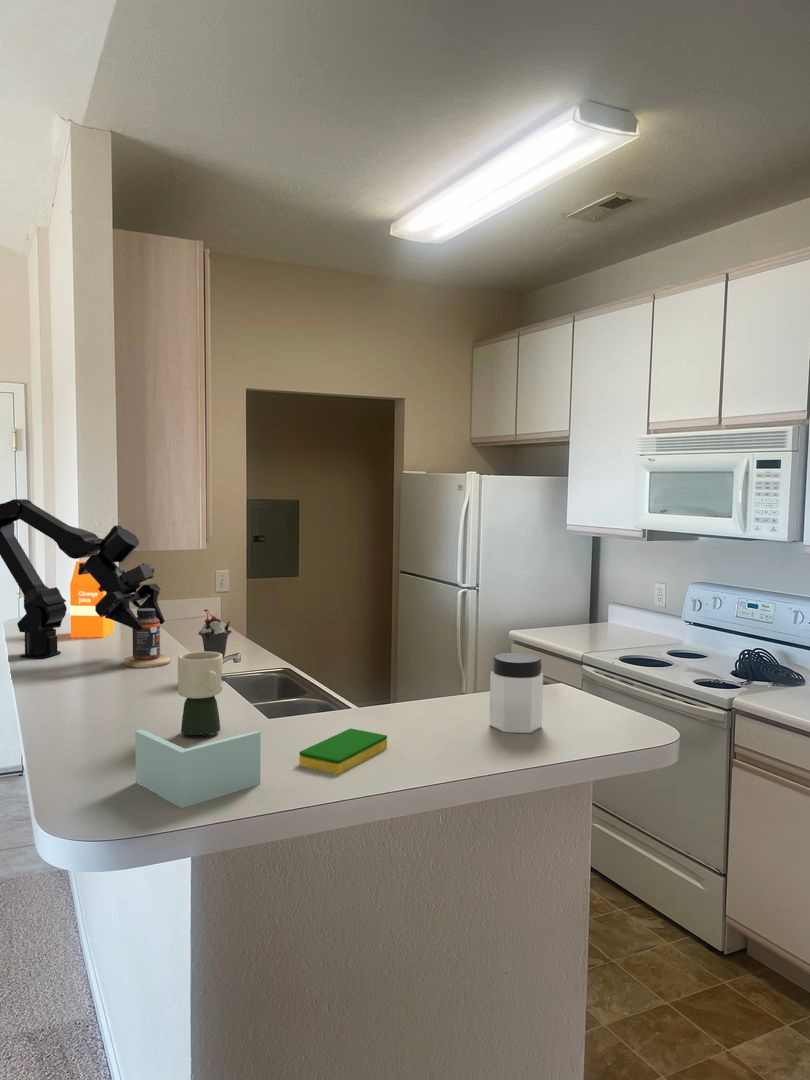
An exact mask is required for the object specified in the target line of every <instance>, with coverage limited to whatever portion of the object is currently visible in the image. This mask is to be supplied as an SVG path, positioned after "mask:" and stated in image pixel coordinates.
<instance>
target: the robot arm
mask: <svg viewBox="0 0 810 1080" xmlns="http://www.w3.org/2000/svg"><path fill="white" fill-rule="evenodd" d="M19 520H21V521H22V522H23V523H26V524H27V525H29V526H30V527H32V528H34V529H35V530H37V531H39V532H40V533H42V534H44V535H45V536H47V537H49V538H50V539H51V540H53V541H54V542H56V544H57V546H58V548H59V550H61V551H62V552H63V553H64V554H65V555H66V556H68V557H69V558H71V559H73V560H78V559H86V558H88V559H86V562H85V563H79V570H78V575H84V574H89V573H90V575H91V576H92V577H93V578H94V579H95V580H96V582H97V583H98V584H99V585H100V587H99V588H98V590H99V591H100V592H104V591H105V592H106V594H105V595H104V597H103V598H102V599H101V600H100V601H99V602H98V603H97V604H96V605H95V611H96V613H97V614H98V615H99V616H100V617H104V616H105V618H106V619H111V620H114V622H117V623H120V624H121V625H123V626H127V627H129V628H131V629H132V630H133V629H135V630H138V631H141V630H142V629H143V627H142V625H141V623H140V622H139V620H138V619H137V615H135V613H134V611H132V609H131V607H130V603H132V605H133V606H134V607H136V608H137V609H142V608H154V609H155V613H156V614H155V616H156V617H157V618H158V619H159V621H160V625H163V624H164V623H165V622H166V620H165V619H164V616H163V613H162V611H161V609H160V606H159V603H158V599H159V598H158V597H159V595H160V592H161V587H160V586H159V585H158V584H157V583H156V582H154V583H153V582H150V583H145V584H141V583H142V582H145V581H147V580H150V579H153V578H155V576H154V574H155V567H153V566H152V565H151V564H149V563H148V562H143V563H142V564H138V566H136V567H134V568H132V569H129V570H126V569H123V570H121V569H120V567H119V566H118V565H117V564H116V563H123V562H125V560H127V558H128V557H129V556H131V554H132V553H133V552H134V551H135V550H136V549H137V547H138V546H139V545H140V541H139V539H138V537H137V536H136V535H135V534H134V533H132V532H130V531H129V530H128V529H125V528H123V526H121V525H114V526H113V527H112V528H111V529H110V531H109V532H108V533H107V534H106V536H105V537H104V538H100V537H99V536H98V535H97V534H95V533H93V532H91V531H88V530H85V529H83V528H79V527H75V526H71V525H68V524H67V523H65V522H63V521H62V520H60V519H59V518H58V517H55V516H54V515H52V514H50V513H49V512H47V511H45V510H44V509H42V508H41V507H39V506H37V505H35V504H34V503H33V502H32V501H31V500H30V499H27V498H26V499H25V498H20V499H14V498H13V499H11V500H9V501H6V502H2V503H0V557H1V559H2V561H3V562H4V565H6V567H7V569H8V571H9V572H10V574H11V576H12V578H13V579H14V581H15V582H16V584H17V586H18V587H19V589H20V591H21V592H22V594H23V608H24V610H25V614H24V616H23V617H21V618H20V620H19V621H18V622H17V624H16V625H17V627H18V630H19V632H20V633H24V653H21V654H20V655H19V656H20V657H21V658H31V659H33V658H34V659H46V658H49V656H50V657H53V656H56V655H59V654H62V652H61V651H62V650H61V651H60V650H58V635H57V629H56V628H61V626H62V622H63V620H64V618H65V616H66V614H67V610H68V609H67V605H66V602H67V600H66V599H65V598H64V597H63V596H62V594H61V592H60V590H59V588H58V587H56V586H55V587H51V588H50V587H48V586H47V585H45V584H44V582H43V580H42V579H41V577H40V576H39V573H37V570H36V569H35V566H34V565H33V564H32V562H31V560H30V559H29V557H28V556H27V554H26V552H25V550H24V549H23V547H22V545H21V544H20V542H19V540H18V538H17V537H16V535H15V522H16V521H19ZM137 589H138V590H137Z"/></svg>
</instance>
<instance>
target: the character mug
mask: <svg viewBox="0 0 810 1080" xmlns="http://www.w3.org/2000/svg"><path fill="white" fill-rule="evenodd" d="M223 659H224V658H223V655H222V654H221V653H217V652H204V651H191V652H185V653H182V654H179V655H178V657H177V692H178V695H179V696H180V697H184V698H186V699H185V701H184V703H183V711H182V718H181V729H180V732H181V734H182V735H186V736H187V735H188V736H189V735H190V736H196V735H197V736H198V735H202V736H203V735H206V736H207V734H217V733H219V732H220V731H221V720H220V714H219V707H218V701H217V698H216V696H217V695H219V694H221V693H222V691H223V690H224V684H223V681H222V676H223V669H224V664H223V663H224V662H223V661H224V660H223Z"/></svg>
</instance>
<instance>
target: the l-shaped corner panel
mask: <svg viewBox="0 0 810 1080" xmlns="http://www.w3.org/2000/svg"><path fill="white" fill-rule="evenodd" d="M134 736H135V737H134V738H135V741H134V742H135V783H136V782H138V783H139V784H142V785H143V786H145V787H147V788H148V789H150V790H152V791H154V792H155V793H157V794H158V795H157V794H156V795H157V796H159V795H160V796H162V797H163V798H162V797H161V798H162V799H164V798H165V799H164V800H166V801H168V802H170V803H172V804H173V805H175V806H177V807H179V808H181V809H183V808H187V807H190V806H194V805H197V804H201V803H204V802H207V801H209V800H213V799H216V798H219V797H222V796H226V795H229V794H232V793H236V792H239V791H243V790H245V789H248V788H252V787H255V786H259V785H261V731H258V730H255V731H251V732H247V733H246V732H245V733H243V734H238V735H235V736H230V737H227V738H223V739H219V740H215V741H212V742H208V743H203V744H200V745H195V746H191V747H188V748H184V747H182V746H180V745H177V744H175V743H173V742H172V741H171V742H170V741H168V740H166V739H164V738H162V737H160V736H158V735H155V734H153V733H151V732H149V731H147V730H145V729H139V730H135V735H134ZM139 784H138V785H139ZM148 789H147V790H148ZM150 790H149V791H150ZM155 793H154V794H155ZM160 796H159V797H160Z"/></svg>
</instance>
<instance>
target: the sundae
mask: <svg viewBox="0 0 810 1080" xmlns="http://www.w3.org/2000/svg"><path fill="white" fill-rule="evenodd" d="M204 612H205V613H206V616H207V617H206V619H205V620H204V623H205V624H203V626H201V629H200V630H199V631H198V633H197V635H199V636H201V640H202V644H203V652H217V653H221V654H222V655H223V659H224V658H225V656H226V652H227V651H226V650H227V643H228V642H227V641H228V637H229V635H230V634H231V633H233V632H232V630H230V629H229V627H230V624H231V622H230V621H228V622H227V623H226V624H224V623H225V622H223V621H222V620H221V619H219V618H218V617H217V616H214V615H213V614H211V613H210V611H209V610H208V608H207V609H204ZM209 615H210V616H211V617H210V619H209ZM227 679H228V678H227V676H225V675H222V680H223V681H222V682H224V681H227Z"/></svg>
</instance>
